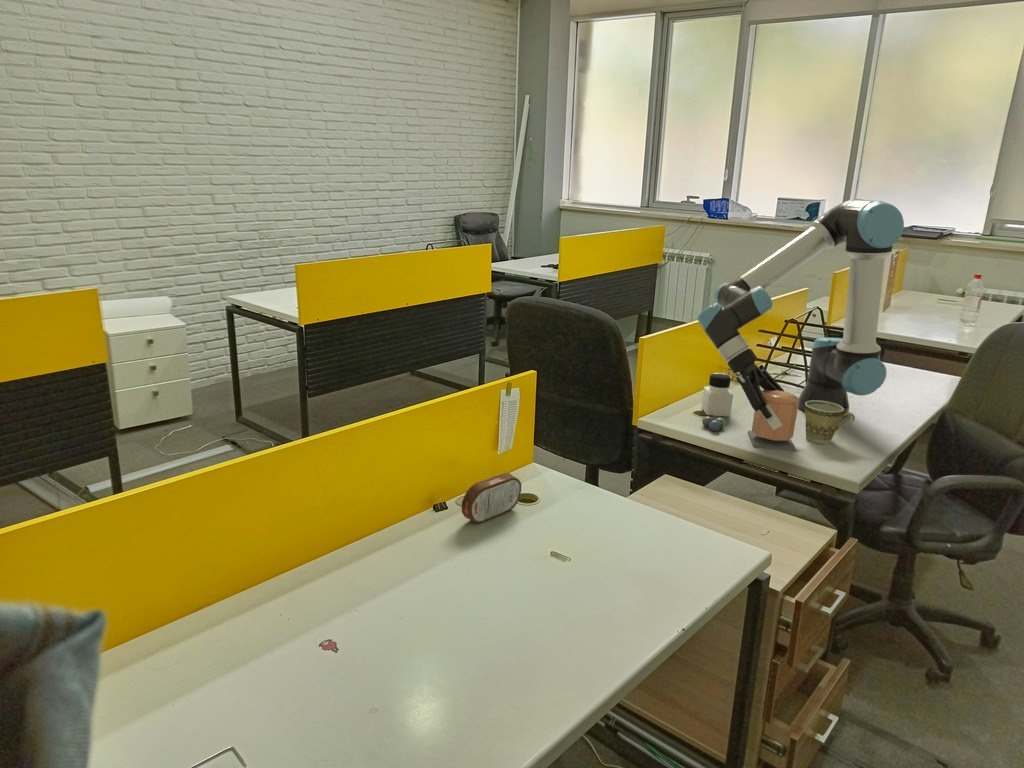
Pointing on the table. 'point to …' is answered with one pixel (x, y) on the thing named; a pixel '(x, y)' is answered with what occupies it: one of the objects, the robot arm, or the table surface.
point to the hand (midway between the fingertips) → (785, 422)
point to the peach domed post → (784, 410)
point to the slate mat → (771, 443)
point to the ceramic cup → (823, 420)
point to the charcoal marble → (707, 421)
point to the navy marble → (714, 425)
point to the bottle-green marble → (720, 422)
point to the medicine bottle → (717, 396)
